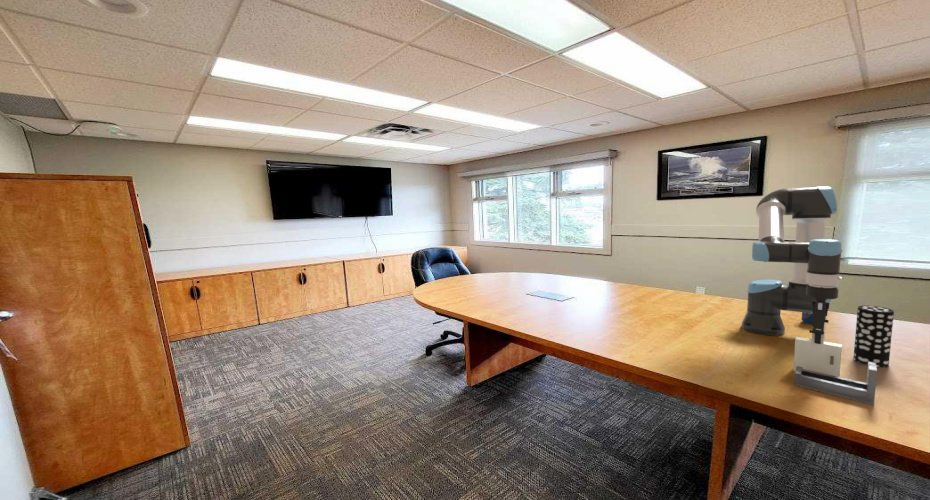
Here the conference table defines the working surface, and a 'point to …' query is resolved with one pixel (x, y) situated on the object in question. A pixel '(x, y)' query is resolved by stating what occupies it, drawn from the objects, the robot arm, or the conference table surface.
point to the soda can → (807, 318)
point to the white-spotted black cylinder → (873, 335)
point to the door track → (839, 384)
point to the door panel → (818, 357)
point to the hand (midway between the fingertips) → (817, 346)
